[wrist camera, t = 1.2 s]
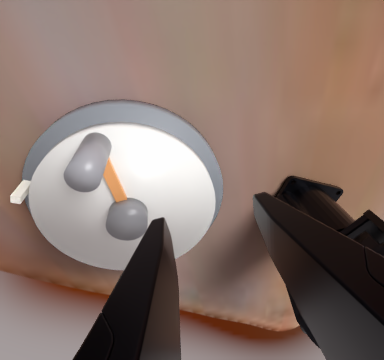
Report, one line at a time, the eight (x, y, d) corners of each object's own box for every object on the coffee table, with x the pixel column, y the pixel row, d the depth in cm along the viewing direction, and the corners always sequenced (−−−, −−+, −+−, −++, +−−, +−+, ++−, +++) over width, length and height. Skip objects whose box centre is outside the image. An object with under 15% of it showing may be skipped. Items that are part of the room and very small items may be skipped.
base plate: (248, 131, 20) (264, 150, 17) (188, 259, 28) (192, 287, 25) (30, 68, 16) (1, 78, 13) (30, 242, 23) (13, 273, 20)
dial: (222, 239, 24) (237, 287, 20) (84, 273, 24) (70, 328, 20) (195, 100, 16) (211, 127, 12) (-8, 149, 16) (-65, 195, 12)
